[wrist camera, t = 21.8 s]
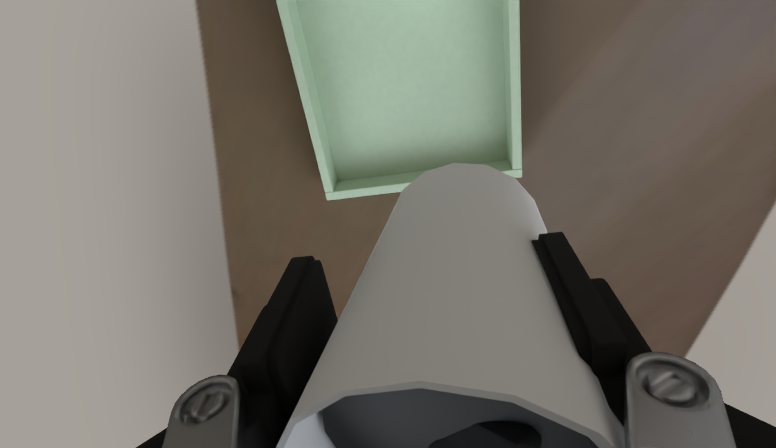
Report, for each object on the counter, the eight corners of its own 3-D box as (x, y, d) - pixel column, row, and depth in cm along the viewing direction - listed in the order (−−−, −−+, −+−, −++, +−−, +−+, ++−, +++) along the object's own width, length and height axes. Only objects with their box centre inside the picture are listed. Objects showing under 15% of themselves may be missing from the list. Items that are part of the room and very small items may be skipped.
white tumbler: (585, 177, 14) (764, 467, 5) (516, 318, 17) (558, 634, 9) (397, 129, 14) (283, 327, 6) (365, 276, 18) (263, 539, 9)
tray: (514, 164, 29) (522, 177, 26) (333, 186, 31) (326, 200, 28) (504, -264, 19) (515, -299, 17) (242, -191, 21) (220, -214, 19)
